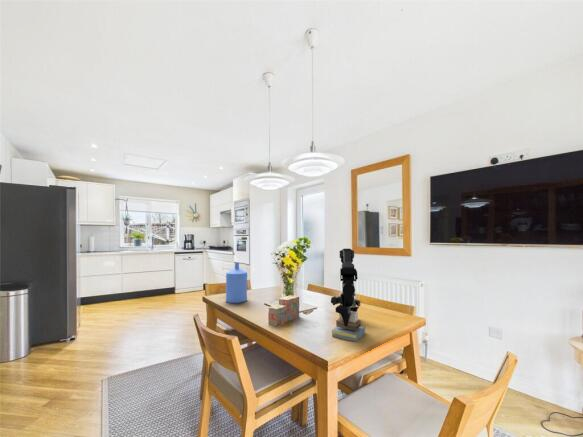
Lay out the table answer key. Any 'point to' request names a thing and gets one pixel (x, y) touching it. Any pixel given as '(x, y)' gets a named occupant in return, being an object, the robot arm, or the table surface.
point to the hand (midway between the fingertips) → (348, 323)
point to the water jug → (236, 285)
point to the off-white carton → (353, 317)
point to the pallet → (350, 324)
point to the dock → (348, 333)
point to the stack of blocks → (284, 310)
